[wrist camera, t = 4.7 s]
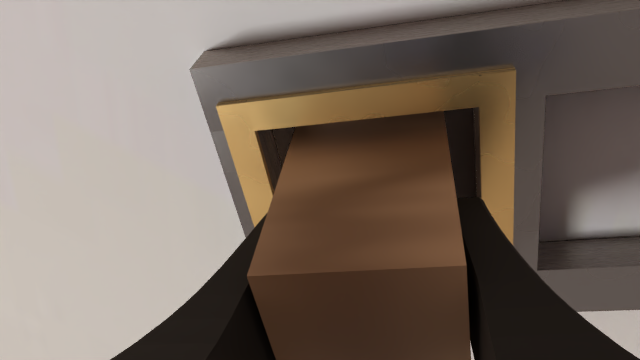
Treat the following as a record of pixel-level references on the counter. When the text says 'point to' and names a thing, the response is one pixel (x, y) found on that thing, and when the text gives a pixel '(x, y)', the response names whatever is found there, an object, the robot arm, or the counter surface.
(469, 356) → the brown wooden block
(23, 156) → the counter surface
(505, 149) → the grey slotted tray
